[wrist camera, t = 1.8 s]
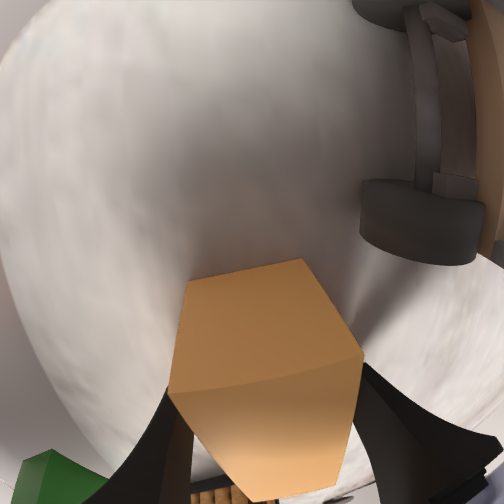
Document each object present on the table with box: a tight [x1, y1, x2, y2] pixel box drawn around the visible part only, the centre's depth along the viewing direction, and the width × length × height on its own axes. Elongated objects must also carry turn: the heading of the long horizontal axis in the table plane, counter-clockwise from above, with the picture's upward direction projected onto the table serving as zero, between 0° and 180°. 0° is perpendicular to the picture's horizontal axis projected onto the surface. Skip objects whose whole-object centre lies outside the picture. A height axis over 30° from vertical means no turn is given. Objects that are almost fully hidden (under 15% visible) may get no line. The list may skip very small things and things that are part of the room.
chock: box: [167, 258, 364, 502], centre depth 9 cm, size 4×10×5 cm, turn 10°
